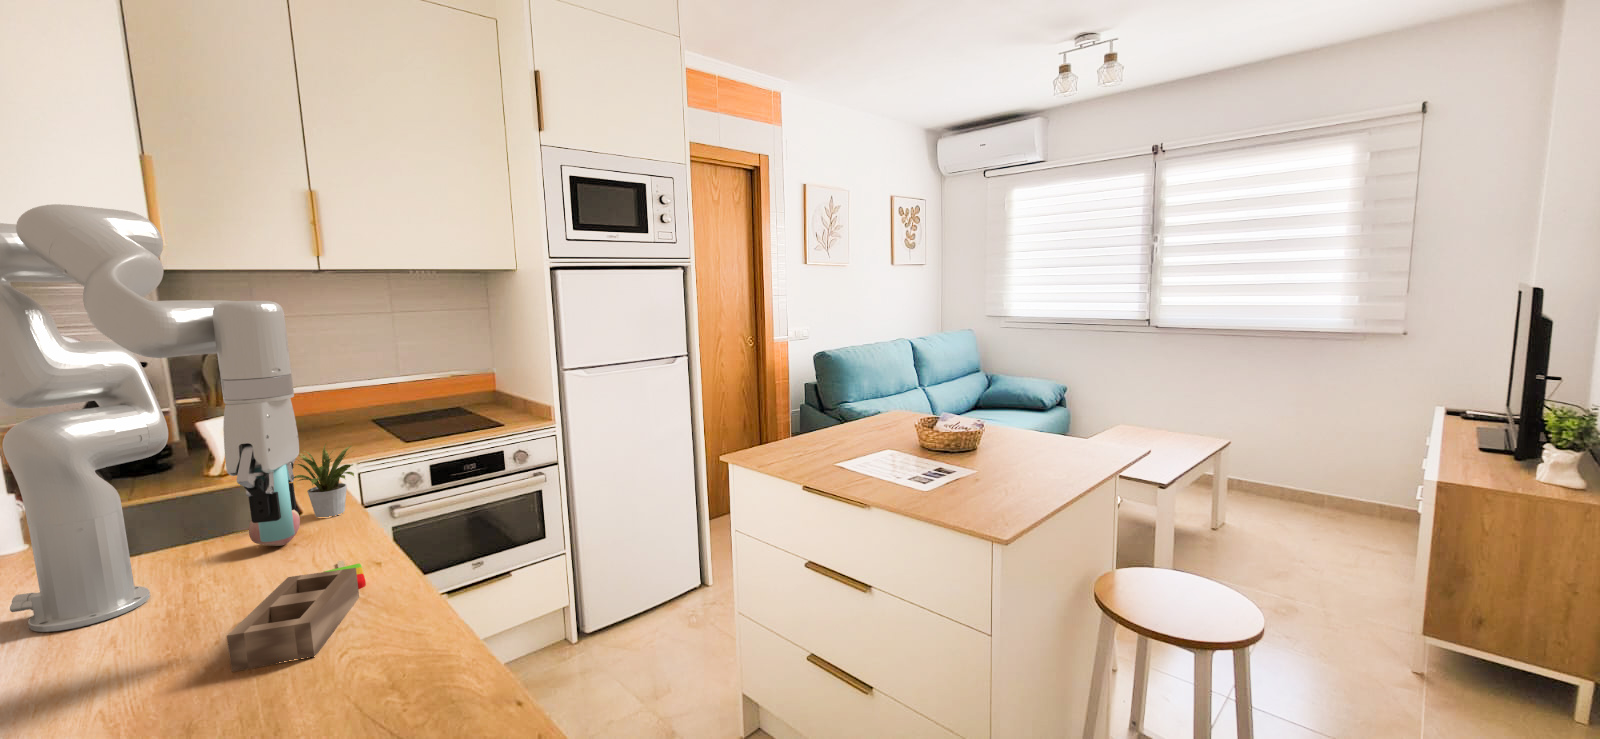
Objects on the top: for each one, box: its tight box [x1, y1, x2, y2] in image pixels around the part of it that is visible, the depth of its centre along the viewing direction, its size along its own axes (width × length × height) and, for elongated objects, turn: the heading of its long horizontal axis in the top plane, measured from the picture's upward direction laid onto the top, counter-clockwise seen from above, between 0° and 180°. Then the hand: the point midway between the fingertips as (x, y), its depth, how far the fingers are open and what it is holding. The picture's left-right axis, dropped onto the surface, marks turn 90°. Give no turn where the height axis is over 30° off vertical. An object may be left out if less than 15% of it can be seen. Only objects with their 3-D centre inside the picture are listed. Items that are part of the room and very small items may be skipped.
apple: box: [248, 509, 301, 547], centre depth 123 cm, size 8×8×8 cm
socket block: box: [226, 568, 360, 673], centre depth 91 cm, size 9×18×5 cm, turn 19°
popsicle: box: [323, 560, 367, 590], centre depth 109 cm, size 6×15×2 cm, turn 39°
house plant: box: [294, 443, 356, 517], centre depth 139 cm, size 14×14×16 cm
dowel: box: [254, 464, 295, 542], centre depth 90 cm, size 4×4×11 cm
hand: (274, 514), depth 90 cm, fingers closed on dowel, 3 cm apart
